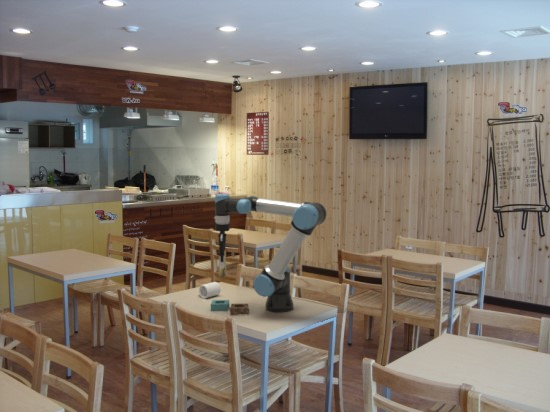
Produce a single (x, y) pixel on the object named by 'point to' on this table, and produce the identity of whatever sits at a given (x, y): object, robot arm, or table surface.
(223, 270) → the pin
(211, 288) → the mug
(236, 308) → the mount block
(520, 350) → the table surface
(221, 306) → the socket block
